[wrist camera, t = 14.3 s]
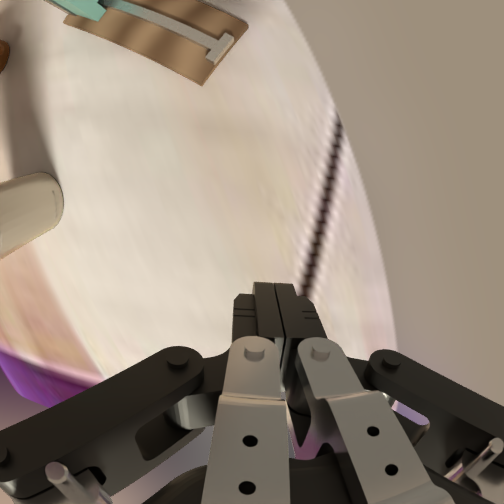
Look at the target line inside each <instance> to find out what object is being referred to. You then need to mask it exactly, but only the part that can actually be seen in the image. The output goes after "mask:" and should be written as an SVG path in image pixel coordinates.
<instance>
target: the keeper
mask: <svg viewBox="0 0 504 504" xmlns="http://www.w3.org/2000/svg"><path fill="white" fill-rule="evenodd" d="M53 1H55V2H57V3H58V4H60V5H62V6H63V7H65V8H67V9H68V10H70V11H72V12H73V13H75V14H76V15H79V16H82V17H86V18H89V19H91V20H94V21H97V22H98V21H99V20H100V18H101V17H102V16H103V14H104V13H105V12H106V11H107V10H105V9H104V8H103V7H102V6H101V5H99V4H98V3H97V2H98V1H99V0H53Z"/></svg>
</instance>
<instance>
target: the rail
mask: <svg viewBox="0 0 504 504" xmlns="http://www.w3.org/2000/svg"><path fill="white" fill-rule="evenodd" d="M44 1H46V2H48V3H49V4H51V5H53V6H55V7H57V8H58V9H60V10H62V11H63V12H65V13H67V14H69V15H72V16H75V17H76V16H77V15H76V14H75V13H73V12H72V11H70V10H68V9H67V8H65V7H63V6H62V5H60V4H58V3H57V2H55V1H53V0H44ZM97 3H98V4H99V5H101V6H103V7H107V8H110V9H113V10H116V11H119V12H121V13H124V14H127V15H130V16H132V17H135V18H138V19H140V20H143V21H145V22H148V23H150V24H153V25H155V26H158V27H160V28H162V29H165V30H167V31H169V32H171V33H174V34H176V35H178V36H180V37H182V38H184V39H186V40H189V41H191V42H193V43H195V44H197V45H199V46H201V47H203V48H205V49H207V50H208V51H210V52H209V53H208V54H207V56H206V57H205V58H206V60H207V61H208V62H210V63H212V64H213V65H216V63H217V62H218V61H219V60H220V58H221V57H222V56H223V55H224V53H225V52H226V51H227V50H228V48H229V47H230V46H231V45H232V43H233V42H234V37H233V36H231V35H229V34H227V33H224V35H223V36H222V37H221V38H220V39H219V41H218V40H216V39H214V38H212V37H210V36H208V35H206V34H204V33H202V32H200V31H198V30H196V29H194V28H191V27H189V26H187V25H185V24H183V23H180V22H178V21H176V20H173V19H171V18H169V17H166V16H164V15H161V14H159V13H156V12H154V11H151V10H148V9H146V8H143V7H140V6H137V5H134V4H131V3H128V2H125V1H122V0H99V1H98V2H97Z"/></svg>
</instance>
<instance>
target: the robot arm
mask: <svg viewBox="0 0 504 504" xmlns="http://www.w3.org/2000/svg"><path fill="white" fill-rule="evenodd" d="M62 213H63V196H62V192H61V189H60V187H59V185H58V183H57V182H56V180H55V179H54V178H53V177H52V176H51V175H49V174H47V173H43V172H40V173H34V174H30V175H27V176H22V177H19V178H15V179H11V180H8V181H4V182H1V183H0V260H1V259H3V258H4V257H6V256H7V255H9V254H11V253H12V252H14V251H15V250H17V249H19V248H20V247H22V246H24V245H25V244H27V243H29V242H30V241H32V240H34V239H35V238H37V237H39V236H41V235H42V234H44V233H46V232H48V231H49V230H51V229H53V228H54V227H55V226H56V225H57V224H58V223H59V221H60V219H61V216H62ZM281 392H285V393H286V401H285V400H283V399H281ZM395 400H397V401H399V402H401V403H403V404H404V405H406V406H408V407H409V408H411V409H413V410H415V411H417V412H418V413H420V414H422V415H424V416H425V417H427V418H428V420H429V423H428V424H427V425H418V424H416V423H415V422H413V421H411V420H409V419H408V418H406V417H404V416H402V415H401V414H399V413H397V412H396V411H394V410H392V409H391V407H392V405H393V404H394V402H395ZM287 424H288V428H289V432H290V436H291V440H292V444H293V448H294V452H295V459H292V458H289V455H288V434H287ZM212 425H214V431H213V436H212V442H211V448H210V454H209V460H208V465H204V466H200V467H197V468H194V469H192V470H190V471H187V472H185V473H183V474H181V475H180V476H178V477H176V478H175V479H173V480H172V481H171V482H169V483H168V484H167V485H166V486H164V487H163V488H162V489H160V490H159V491H158V492H157V493H155V494H154V495H153V496H151V497H150V498H149V499H147V500H146V501H145V502H143V503H142V504H504V407H503V406H501V405H499V404H497V403H495V402H493V401H491V400H489V399H487V398H485V397H483V396H481V395H479V394H477V393H475V392H473V391H472V390H469V389H467V388H466V387H463V386H462V385H460V384H458V383H456V382H454V381H452V380H450V379H448V378H446V377H444V376H442V375H440V374H438V373H437V372H435V371H433V370H431V369H429V368H427V367H425V366H423V365H421V364H419V363H417V362H416V361H413V360H412V359H410V358H408V357H406V356H404V355H402V354H400V353H398V352H396V351H393V350H387V349H383V350H377V351H375V352H374V353H372V354H371V356H370V358H369V361H366V360H360V359H354V358H349V357H346V355H345V354H344V352H343V350H342V348H341V347H340V346H339V345H338V344H337V343H335V342H333V341H331V340H329V339H328V338H327V336H326V333H325V331H324V328H323V326H322V323H321V321H320V319H319V316H318V314H317V313H316V309H315V306H314V304H313V303H312V302H311V301H310V300H309V299H308V298H306V297H305V296H297V295H296V292H295V289H294V286H293V284H287V283H266V282H254V283H253V292H252V294H239V295H238V296H237V297H236V298H235V299H234V307H233V325H232V344H231V346H230V348H229V349H228V350H227V351H226V352H224V353H223V354H221V355H218V356H215V357H210V358H202V356H201V355H200V354H199V353H198V352H197V351H195V350H194V349H191V348H188V347H183V346H173V347H168V348H165V349H163V350H161V351H159V352H157V353H155V354H153V355H152V356H150V357H148V358H146V359H144V360H142V361H141V362H139V363H137V364H135V365H133V366H131V367H129V368H127V369H126V370H124V371H122V372H120V373H118V374H116V375H114V376H112V377H110V378H109V379H107V380H105V381H103V382H101V383H99V384H97V385H95V386H93V387H91V388H89V389H87V390H85V391H83V392H81V393H79V394H77V395H75V396H73V397H71V398H69V399H67V400H65V401H63V402H61V403H59V404H57V405H55V406H53V407H51V408H49V409H47V410H45V411H42V412H40V413H38V414H36V415H34V416H32V417H30V418H28V419H26V420H23V421H21V422H19V423H17V424H15V425H12V426H10V427H8V428H6V429H3V430H1V431H0V487H1V488H2V490H3V491H4V492H5V493H6V494H7V495H8V496H10V497H11V499H12V500H13V502H14V504H113V502H112V499H111V496H112V495H114V494H116V493H117V492H119V491H121V490H122V489H124V488H126V487H127V486H129V485H130V484H132V483H133V482H135V481H136V480H138V479H139V478H141V477H142V476H144V475H145V474H147V473H148V472H150V471H151V470H152V469H154V468H155V467H157V466H158V465H159V464H161V463H162V462H164V461H165V460H167V459H168V458H169V457H171V456H172V455H173V454H175V453H176V452H177V451H179V450H180V449H181V448H183V447H184V446H185V445H187V444H188V443H189V442H190V441H192V440H193V439H194V438H196V437H197V436H198V435H199V434H201V432H203V430H204V429H205V427H207V426H212Z"/></svg>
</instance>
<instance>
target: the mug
mask: <svg viewBox="0 0 504 504" xmlns="http://www.w3.org/2000/svg"><path fill="white" fill-rule="evenodd" d="M8 56H9V45H8V43H7V42H5V41H2V40H0V73H1V71H2V70H3V68H4V66H5V64H6V62H7V60H8Z"/></svg>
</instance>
